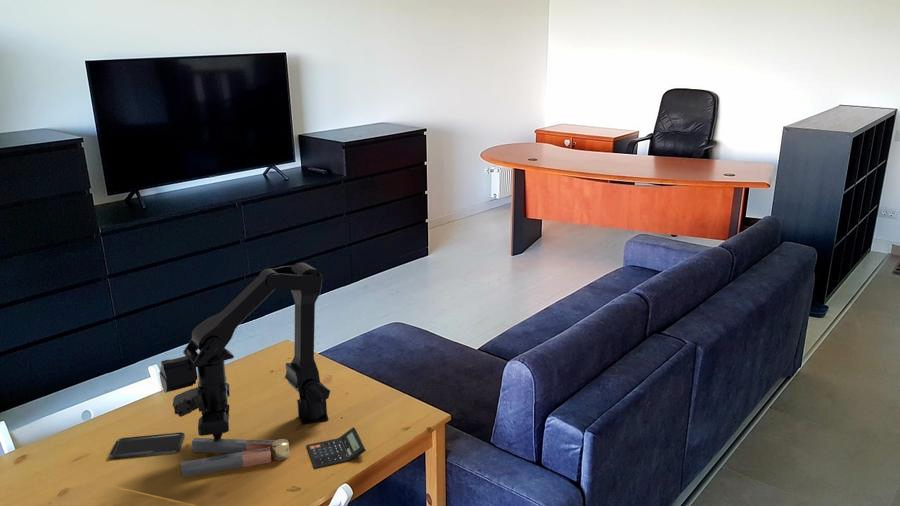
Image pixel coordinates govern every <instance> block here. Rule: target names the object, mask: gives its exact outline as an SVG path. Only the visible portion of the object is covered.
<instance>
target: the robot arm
mask: <svg viewBox="0 0 900 506" xmlns="http://www.w3.org/2000/svg"><path fill="white" fill-rule="evenodd" d="M322 285H323V275H322V273H321V272H320V271H319V270H318V269H316V268H314V267H313V266H311V265H309V264H308V263H305V262H298V263H297V262H296V263H295V264H294V265H286V266H285V265H282V266H279V267H275V268H265V269H263V270H261V271H260V272H259V275H258V276H257V277H256V278H254V280H253V281H252V282H250V284H248V285H247V286H246V287H245V288H244V290H242V291H241V292H240V293H239V294H238V295H237V296H236V297H235V298H234V299H233V300H232V301H231V302H229V304H228V305H227V306H226V307H224V309H223V310H221V311H220V312H219V313H216V314H214V315H212V316H209V317H207V318H206V319H205V320H203V321H202V322H200V323H199V324H198V325H196V326H195V327H194V328H193V330H192V332H191V339H190V340H189V342H188V343H187V345H186V347H185V348H184V350H183V351H182V352H183V355H184V356H181V357H175V358H172V359H164V360H161V361H160V364H161V366H160V370H159V372H158V374H159V379H160V384H161V387H162V390H163V392H164V393H166V394H167V393H170V392H174V391H177V390H182V389H185V388H188V387H189V388H190V387H192V386H194V385H196V384H197V387H194V388H190V389H187V390H186V391H183V392H181V393H177V394H176V395H175V396H174V397H173V401H172V407H173V410H174V414H175V415H178V417H181V418H182V417H185V416H186V415H188V414H191V413H192V412H194V411H196V410H198V412H200V413H201V416H200V417H199V418H198V421H197V422H198V424H197V432H198V433H197V434H198V436H202V437H203V436H211V435H212V436H213V437H212V438H215V439H222V437H223V434H226V433H228V432H229V431H230V404H228V402H229V401H228V400H229V397H230V396H231V393H230V392H231V390H230V389H231V387H230V384H229V383H228V382H227V376H226V368H225V367H226V364H225V361H227V360H232V359H234V356H235V355H234V354H233V353H232V352H231V351H230V350H229V349H227V348H226V347H227V345H228V344H229V343H230V341H231V340H232V338H233V336H234V333H235V331H236V329H237V328H238V327H239V325H241V323H242V322H243V321H244V320H245V319H246V318H247V317H248V316H249V315H251V313H252V312H254V311H255V310H256V309H257V308H258V307H259V306H260V305H261V304H262V303H263V302H264V301H265V300H266V299H267V298H268V297H269V296H270V295H271V294H272V293H273V292H274V291H275V290H287V291H291V295H292V296H293V300H294V347H293V348H294V353H293V355H294V356H293V358H292V361H291V362H287V363H285V375H284V379H285V380H287V382H288V385H290V386H291V387H292V388H293V389H294V390H295V391H296V392H297V393H298V399H297V400H296V404H297V406H296V407H297V416H298V419H299V420H300V422H301V425H309V424H316V423H323V422H328V421H329V417H328V410H327V409H328V408H327V406H328V405H327V400H328V399H329V397H330V393H331V390H330V389H329V388H328V387H327V386H325V385H324V384H323V383H322V382H321V379H320V378H321V377H320V372H319V369H318V366H317V363H316V360H315V326H316V325H315V315H316V313H315V311H316V302H317V300H318V298H319V296H321V295H320V294H321V291H322V290H321V289H322ZM198 350H199V352H197V351H198ZM197 380H198V381H197Z"/></svg>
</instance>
